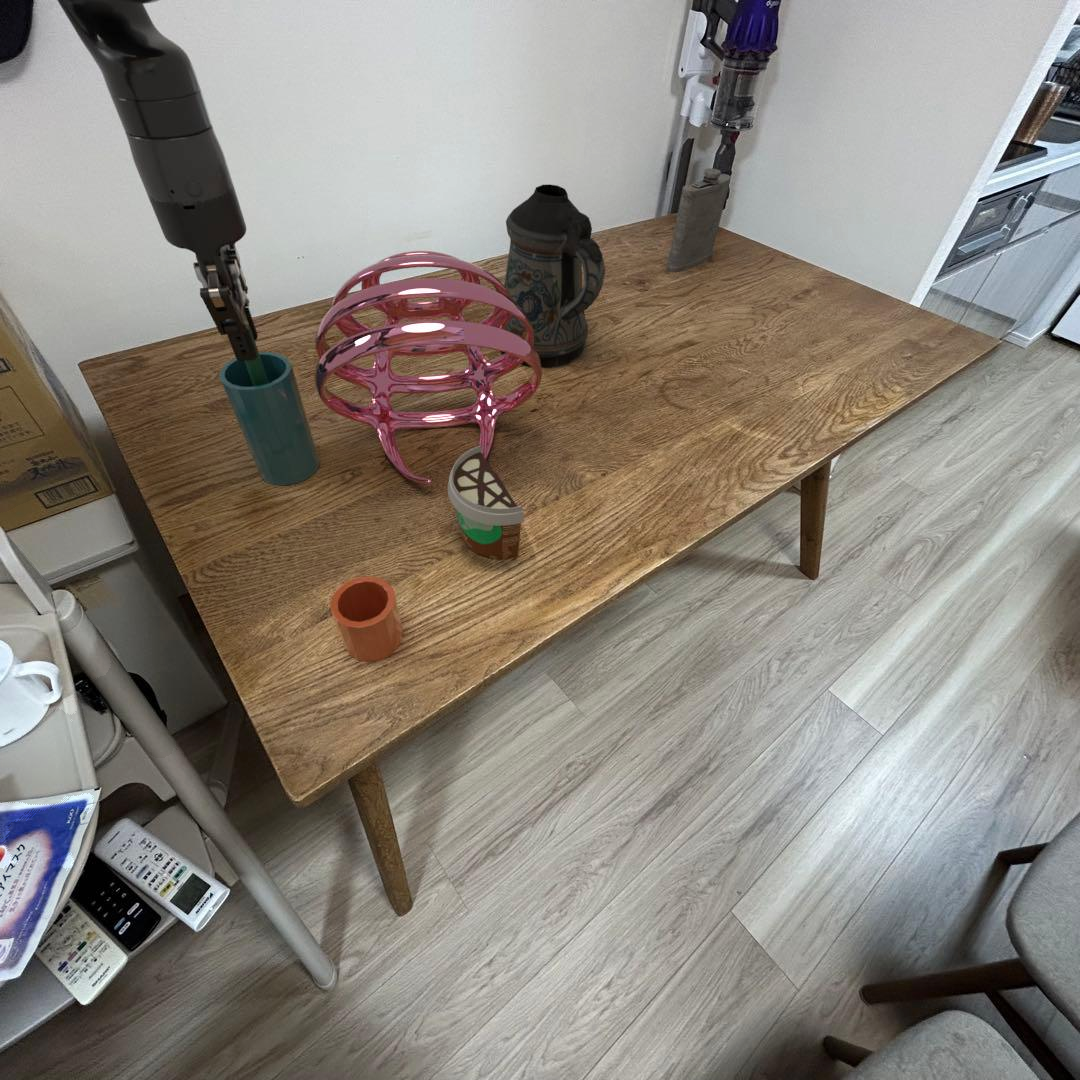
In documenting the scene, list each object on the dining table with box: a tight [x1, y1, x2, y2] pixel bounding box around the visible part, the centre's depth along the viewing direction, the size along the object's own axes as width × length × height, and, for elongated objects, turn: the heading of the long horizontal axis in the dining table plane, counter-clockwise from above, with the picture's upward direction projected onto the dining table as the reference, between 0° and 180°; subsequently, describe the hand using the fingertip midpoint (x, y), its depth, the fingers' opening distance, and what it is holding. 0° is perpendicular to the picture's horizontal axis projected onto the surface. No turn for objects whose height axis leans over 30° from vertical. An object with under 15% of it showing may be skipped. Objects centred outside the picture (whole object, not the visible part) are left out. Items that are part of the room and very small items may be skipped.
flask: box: [666, 167, 732, 273], centre depth 124 cm, size 4×14×18 cm, turn 134°
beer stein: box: [499, 184, 606, 369], centre depth 96 cm, size 16×19×25 cm
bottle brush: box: [243, 308, 269, 386], centre depth 73 cm, size 3×3×22 cm
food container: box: [447, 445, 525, 560], centre depth 71 cm, size 12×6×10 cm, turn 27°
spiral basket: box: [314, 250, 543, 486], centre depth 76 cm, size 28×28×27 cm
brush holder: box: [330, 575, 404, 663], centre depth 62 cm, size 6×6×7 cm
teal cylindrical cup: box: [218, 351, 321, 486], centre depth 77 cm, size 8×8×15 cm
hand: (248, 348), depth 69 cm, fingers open, 3 cm apart
